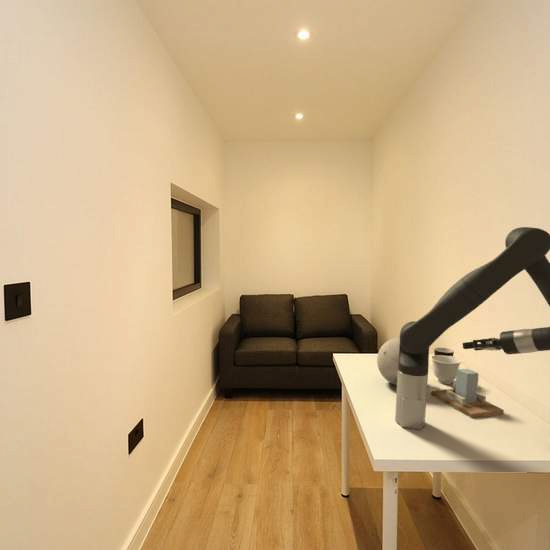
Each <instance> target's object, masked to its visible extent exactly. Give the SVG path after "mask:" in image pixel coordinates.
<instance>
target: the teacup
mask: <svg viewBox="0 0 550 550" xmlns="http://www.w3.org/2000/svg"><path fill="white" fill-rule="evenodd" d="M430 358H431V360H432V367H433V368H432V369H433V374H434V376H435V377H436V378H437V382H439V383H442V384H444V385H445V384H447V385H450V383H451V384H453V382H452V381H455V380H456V376H457V369H459V368H460V365H461V364H462V361H461V360H460V359H459V358H457V357H454V356H453V357H452V356H444V355H432V356H431V357H430Z"/></svg>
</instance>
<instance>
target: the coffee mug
mask: <svg viewBox="0 0 550 550" xmlns="http://www.w3.org/2000/svg"><path fill="white" fill-rule="evenodd" d="M433 351H434V352H433V353H434V355H433V356H435V355H444V356H452V357H454V353H455V351H454V350H453V349H451V348H447V347H434V348H433Z"/></svg>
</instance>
